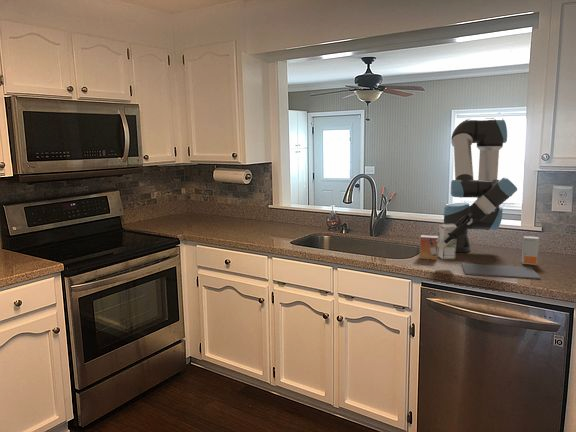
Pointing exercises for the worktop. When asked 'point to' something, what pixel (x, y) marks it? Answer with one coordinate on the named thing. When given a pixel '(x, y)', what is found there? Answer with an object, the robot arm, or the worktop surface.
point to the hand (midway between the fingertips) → (438, 244)
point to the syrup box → (450, 248)
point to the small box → (428, 247)
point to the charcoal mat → (500, 271)
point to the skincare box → (530, 250)
